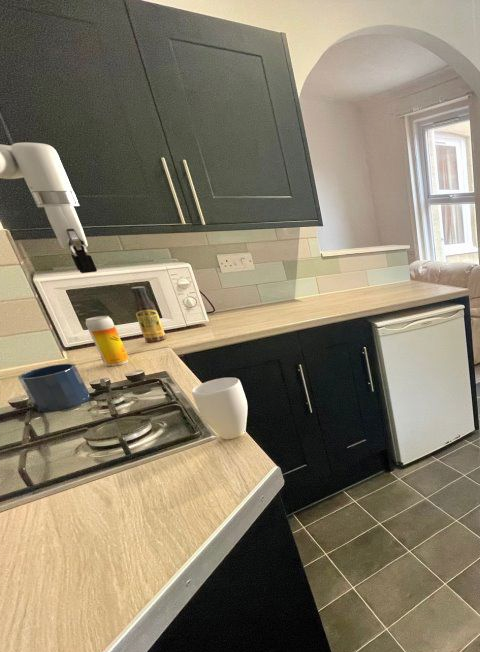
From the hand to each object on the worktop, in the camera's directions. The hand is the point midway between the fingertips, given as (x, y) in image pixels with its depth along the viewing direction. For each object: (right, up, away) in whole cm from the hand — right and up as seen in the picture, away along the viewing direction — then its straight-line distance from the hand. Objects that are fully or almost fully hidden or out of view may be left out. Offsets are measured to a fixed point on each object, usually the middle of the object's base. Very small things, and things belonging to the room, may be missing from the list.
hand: (87, 270), depth 111 cm
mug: (+52, -40, -21) cm, 69 cm away
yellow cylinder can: (-15, -23, +24) cm, 37 cm away
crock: (-3, -35, -3) cm, 35 cm away
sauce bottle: (-22, -14, +47) cm, 54 cm away
